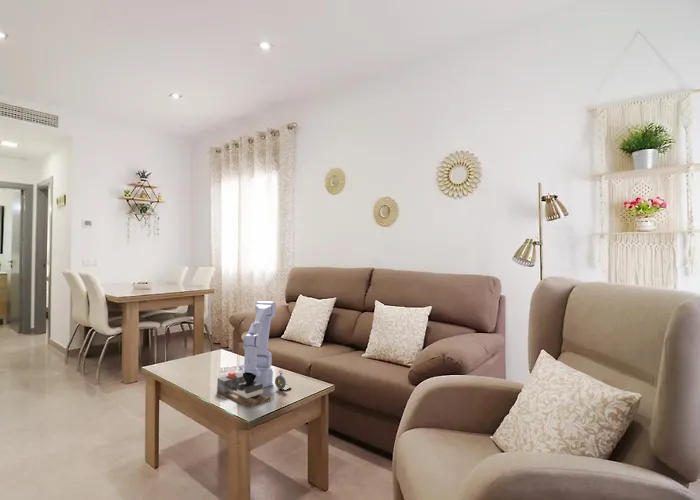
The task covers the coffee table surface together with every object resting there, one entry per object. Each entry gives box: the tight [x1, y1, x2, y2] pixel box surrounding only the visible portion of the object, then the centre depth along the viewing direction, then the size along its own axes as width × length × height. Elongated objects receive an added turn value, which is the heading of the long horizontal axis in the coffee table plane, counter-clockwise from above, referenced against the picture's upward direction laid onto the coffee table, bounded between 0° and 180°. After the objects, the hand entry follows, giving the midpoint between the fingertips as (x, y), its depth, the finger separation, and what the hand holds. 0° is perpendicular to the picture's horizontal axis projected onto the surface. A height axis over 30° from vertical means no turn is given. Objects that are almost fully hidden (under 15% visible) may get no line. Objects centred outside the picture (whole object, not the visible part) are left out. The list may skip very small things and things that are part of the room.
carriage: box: [237, 380, 264, 398], centre depth 179 cm, size 9×8×4 cm
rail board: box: [216, 372, 271, 408], centre depth 182 cm, size 12×26×7 cm, turn 51°
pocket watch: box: [274, 370, 290, 390], centre depth 194 cm, size 8×8×10 cm
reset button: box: [227, 371, 237, 379], centre depth 188 cm, size 4×4×4 cm
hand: (249, 388), depth 179 cm, fingers closed
